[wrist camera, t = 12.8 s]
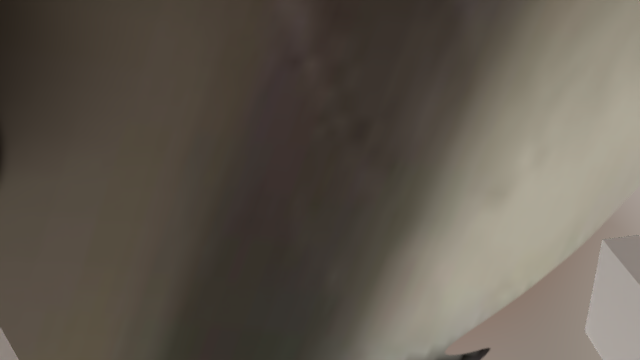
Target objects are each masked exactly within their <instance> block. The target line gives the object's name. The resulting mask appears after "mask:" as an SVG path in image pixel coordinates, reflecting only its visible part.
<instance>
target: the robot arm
mask: <svg viewBox="0 0 640 360" xmlns="http://www.w3.org/2000/svg"><path fill="white" fill-rule="evenodd" d="M585 332H586V334H587V336H588V337H589V339H590V340H591V342H592V344H593V345H594V347H595V348H596V350H597V352H598V353H599V355H600V357H601V358H602V360H640V236H639V235H635V236H626V237H618V238H610V239H603V240H602V244H601V249H600V254H599V260H598V265H597V270H596V276H595V280H594V285H593V291H592V296H591V301H590V306H589V311H588V316H587V322H586V327H585ZM0 360H19V359H18V358H17V356H16V354H15V352H14V351H13V349H12V347H11V345H10V344H9V342H8V340H7V338H6V336H5V335H4V333H3V331H2V329H1V328H0Z"/></svg>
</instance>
